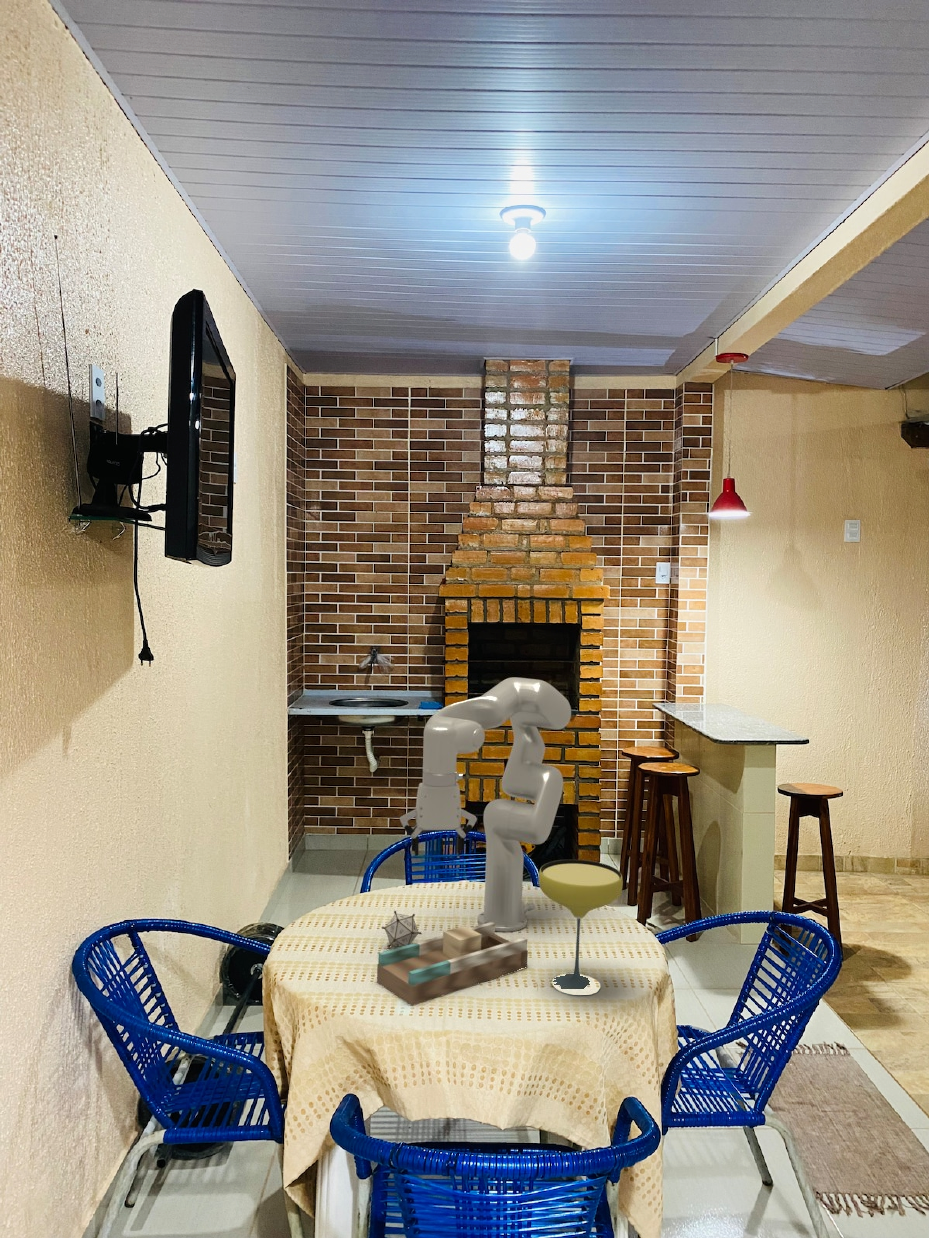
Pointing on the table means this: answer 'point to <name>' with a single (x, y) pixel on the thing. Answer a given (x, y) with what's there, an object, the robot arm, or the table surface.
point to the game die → (401, 930)
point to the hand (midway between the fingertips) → (437, 853)
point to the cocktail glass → (579, 897)
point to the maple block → (460, 942)
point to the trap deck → (447, 966)
